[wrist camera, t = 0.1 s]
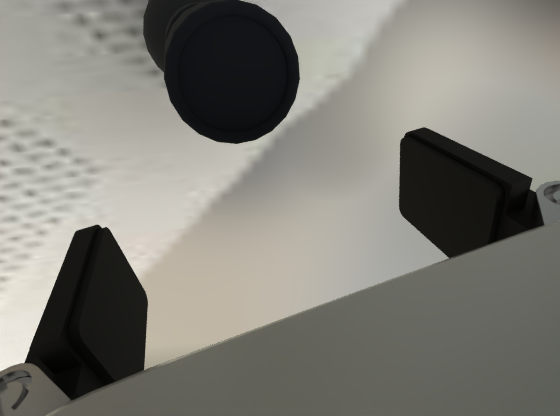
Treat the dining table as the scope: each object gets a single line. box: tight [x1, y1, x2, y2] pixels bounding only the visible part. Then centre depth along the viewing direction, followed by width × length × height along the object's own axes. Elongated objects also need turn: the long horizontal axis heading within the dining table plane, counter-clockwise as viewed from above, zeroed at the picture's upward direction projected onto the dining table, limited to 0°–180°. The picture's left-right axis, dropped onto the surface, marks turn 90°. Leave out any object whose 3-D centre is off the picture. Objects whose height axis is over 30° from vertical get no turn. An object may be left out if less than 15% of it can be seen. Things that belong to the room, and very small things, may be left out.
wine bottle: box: [143, 0, 300, 144], centre depth 22 cm, size 6×6×30 cm
